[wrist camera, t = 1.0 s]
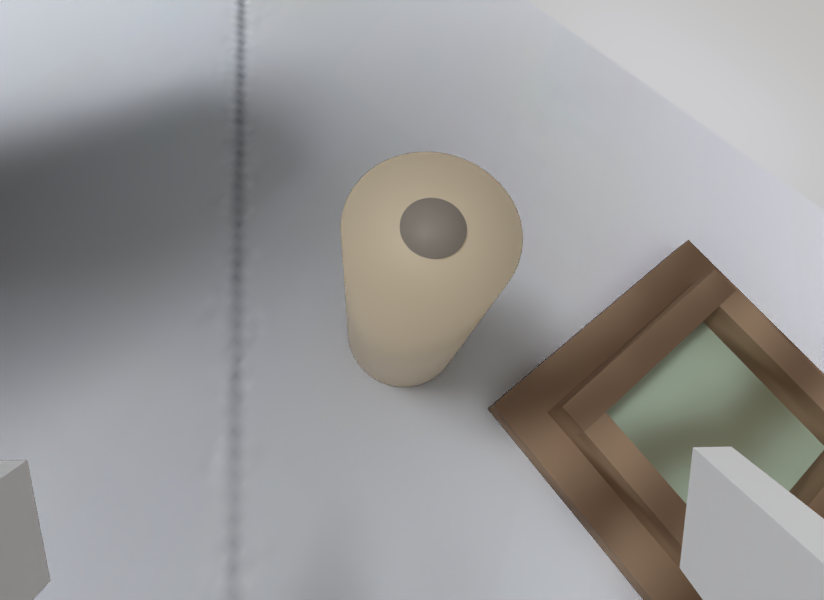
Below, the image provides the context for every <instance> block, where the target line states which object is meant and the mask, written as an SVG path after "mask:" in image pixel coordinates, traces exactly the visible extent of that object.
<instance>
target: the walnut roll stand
mask: <svg viewBox="0 0 824 600" xmlns="http://www.w3.org/2000/svg"><path fill="white" fill-rule="evenodd" d="M488 410H489V411H490V412H491V413H492V414H493V416H494V417H495V418H496V419H497V421H498V422H499V423H500V424H501V426H502V427H503V428H504V429H505V430H506V432H507V433H508V434H509V435H510V437H511V438H512V439H513V440H514V441H515V443H516V444H517V445H518V446H519V448H520V449H521V450H522V451H523V452H524V454H525V455H526V456H527V457H528V459H529V460H530V461H531V462H532V464H533V465H534V466H535V467H536V468H537V470H538V471H539V472H540V473H541V475H542V476H543V477H544V478H545V479H546V481H547V482H548V483H549V484H550V486H551V487H552V488H553V489H554V491H555V492H556V493H557V494H558V495H559V497H560V498H561V499H562V500H563V502H564V503H565V504H566V505H567V506H568V508H569V509H570V510H571V511H572V513H573V514H574V515H575V516H576V517H577V519H578V520H579V521H580V522H581V524H582V525H583V526H584V527H585V529H586V530H587V531H588V532H589V533H590V535H591V536H592V537H593V538H594V540H595V541H596V542H597V543H598V544H599V546H600V547H601V548H602V549H603V551H604V552H605V553H606V554H607V555H608V557H609V558H610V559H611V560H612V562H613V563H614V564H615V565H616V567H617V568H618V569H619V570H620V571H621V573H622V574H623V575H624V576H625V578H626V579H627V580H628V581H629V582H630V584H631V585H632V586H633V587H634V589H635V590H636V591H637V592H638V594H639V595H640V596H641V597H642V598H643V600H703V599H702V598H701V597H700V595H699V594H698V593H697V591H696V590H695V588H694V587H693V586H692V584H691V583H690V581H689V580H688V579H687V577H686V576H685V575H684V573H683V572H682V570H681V569H680V560H681V551H682V541H683V532H684V523H685V514H686V505H687V496H688V487H689V478H690V469H691V460H692V451H693V447H733V448H734V449H735V450H736V451H738V452H739V453H740V454H742V455H743V456H744V457H745V458H747V459H748V460H749V461H751V462H752V463H753V464H754V465H756V466H757V467H758V468H759V469H761V470H762V471H763V472H765V473H766V474H767V475H768V476H770V477H771V478H772V479H774V480H775V481H776V482H777V483H779V484H780V485H781V486H782V487H784V488H785V489H786V490H788V491H789V492H790V493H791V494H793V495H794V496H795V497H797V498H798V499H799V500H800V501H802V502H803V503H804V504H805V505H807V506H808V507H809V508H811V509H812V510H813V511H814V512H816V513H817V514H818V515H819V516H821V517H822V518H823V519H824V373H823V372H822V371H821V370H819V369H818V368H817V367H816V366H815V365H814V364H813V363H812V362H811V361H810V360H809V359H808V358H807V357H806V356H805V355H804V354H803V353H802V352H801V351H800V350H799V349H798V348H797V347H796V346H795V345H794V344H793V343H792V342H791V341H790V340H789V339H788V338H787V337H786V336H785V335H784V334H783V333H782V332H781V331H780V330H779V329H778V328H777V327H776V326H775V325H774V324H773V323H772V322H771V321H770V320H769V319H768V318H767V317H766V316H765V315H764V314H763V313H762V312H761V311H760V310H759V309H758V308H757V307H756V306H755V305H754V304H753V303H752V302H751V301H750V300H749V299H748V298H747V297H746V296H745V295H744V294H743V293H742V292H741V291H740V290H739V289H738V288H737V287H736V286H735V285H734V284H733V283H731V282H730V281H729V280H728V279H727V278H726V277H725V276H724V275H723V274H722V273H721V272H720V271H719V270H718V269H717V268H716V267H715V266H714V265H713V264H712V263H711V262H710V261H709V260H708V259H707V258H706V257H705V256H704V255H703V254H702V253H701V252H700V251H699V250H698V249H697V248H696V247H695V246H694V245H693V244H692V243H691V242H690V241H689V240H688V241H687V242H685V243H684V244H683V245H681V246H680V247H679V248H677V249H676V250H675V251H674V252H672V253H671V254H670V255H669V256H668V257H666V258H665V259H664V260H663V261H662V262H661V263H659V264H658V265H657V266H656V267H655V268H653V269H652V270H651V271H650V272H649V273H648V274H646V275H645V276H644V277H643V278H642V279H640V280H639V281H638V282H637V283H636V284H635V285H633V286H632V287H631V288H630V289H629V290H627V291H626V292H625V293H624V294H623V295H622V296H620V297H619V298H618V299H617V300H616V301H614V302H613V303H612V304H611V305H610V306H608V307H607V308H606V309H605V310H604V311H603V312H601V313H600V314H599V315H598V316H597V317H595V318H594V319H593V320H592V321H591V322H590V323H588V324H587V325H586V326H585V327H584V328H582V329H581V330H580V331H579V332H578V333H577V334H575V335H574V336H573V337H572V338H571V339H569V340H568V341H567V342H566V343H565V344H564V345H562V346H561V347H560V348H559V349H558V350H556V351H555V352H554V353H553V354H552V355H551V356H549V357H548V358H547V359H546V360H545V361H543V362H542V363H541V364H540V365H539V366H537V367H536V368H535V369H534V370H533V371H532V372H530V373H529V374H528V375H527V376H526V377H524V378H523V379H522V380H521V381H520V382H519V383H517V384H516V385H515V386H514V387H513V388H511V389H510V390H509V391H508V392H507V393H506V394H504V395H503V396H502V397H501V398H500V399H498V400H497V401H496V402H495V403H494V404H493V405H491V406H490V407H489V408H488Z"/></svg>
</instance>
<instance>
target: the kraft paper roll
mask: <svg viewBox="0 0 824 600" xmlns="http://www.w3.org/2000/svg"><path fill="white" fill-rule="evenodd" d="M341 241H342V256H343V270H344V284H345V298H346V312H347V326H348V340H349V345H350V348H351V352H352V354H353V356H354V358H355V360H356V361H357V363H358V364H359V366H360V367H361V368H362V369H363V370H364V371H365V372H366V373H367V374H368V375H369V376H371V377H372V378H374V379H376V380H378V381H380V382H382V383H384V384H387V385H391V386H396V387H411V386H416V385H420V384H423V383H426V382H428V381H430V380H432V379H433V378H435V377H436V376H437V375H439V374H440V373H441V372H442V371H443V370H444V369H445V367H446V366H447V365H448V364H449V362H450V361H451V360H452V358H453V357H454V356H455V354H456V353H457V351H458V350H459V349H460V347H461V346H462V345H463V343H464V342H465V341H466V339H467V338H468V336H469V335H470V334H471V332H472V331H473V330H474V328H475V327H476V326H477V324H478V323H479V322H480V320H481V319H482V317H483V316H484V315H485V313H486V312H487V311H488V309H489V308H490V307H491V305H492V304H493V303H494V301H495V300H496V298H497V297H498V296H499V294H500V293H501V292H502V290H503V289H504V288H505V286H506V285H507V283H508V282H509V281H510V279H511V277H512V276H513V274H514V273H515V270H516V268H517V266H518V263H519V260H520V256H521V252H522V244H523V236H522V226H521V221H520V218H519V215H518V211H517V209H516V207H515V205H514V203H513V201H512V199H511V198H510V196H509V195H508V193H507V191H506V190H505V189H504V188H503V187H502V185H501V184H500V183H499V182H498V181H497V180H496V179H495V178H494V177H493V176H491V175H490V174H489V173H487V172H486V171H485V170H483V169H482V168H480V167H479V166H477V165H475V164H474V163H471V162H469V161H467V160H465V159H462V158H459V157H456V156H453V155H449V154H444V153H437V152H414V153H407V154H403V155H399V156H396V157H393V158H390V159H388V160H386V161H384V162H382V163H380V164H378V165H376V166H375V167H373V168H372V169H371V170H369V171H368V172H367V173H366V174H365V175H364V176H363V177H361V178H360V180H359V181H358V182H357V183H356V184H355V186H354V187H353V189H352V190H351V192H350V194H349V196H348V198H347V200H346V203H345V205H344V209H343V213H342V218H341Z"/></svg>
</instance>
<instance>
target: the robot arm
mask: <svg viewBox="0 0 824 600" xmlns="http://www.w3.org/2000/svg"><path fill="white" fill-rule="evenodd" d="M680 569H681V570H682V572H683V573H684V575H685V576H686V577H687V579H688V580H689V581H690V583H691V584H692V586H693V587H694V588H695V590H696V591H697V593H698V594H699V595H700V597H701V598H702V599H703V600H824V519H823V518H822V517H821V516H819V515H818V514H817V513H816V512H814V511H813V510H812V509H811V508H809V507H808V506H807V505H805V504H804V503H803V502H802V501H800V500H799V499H798V498H797V497H795V496H794V495H793V494H791V493H790V492H789V491H788V490H786V489H785V488H784V487H782V486H781V485H780V484H779V483H777V482H776V481H775V480H774V479H772V478H771V477H770V476H768V475H767V474H766V473H765V472H763V471H762V470H761V469H759V468H758V467H757V466H756V465H754V464H753V463H752V462H751V461H749V460H748V459H747V458H745V457H744V456H743V455H742V454H740V453H739V452H738V451H736V450H735V449H734V448H733V447H693V451H692V460H691V469H690V478H689V487H688V496H687V505H686V514H685V523H684V532H683V541H682V551H681V560H680ZM49 582H50V576H49V571H48V566H47V560H46V555H45V550H44V545H43V539H42V534H41V529H40V524H39V519H38V513H37V508H36V503H35V498H34V493H33V487H32V482H31V477H30V472H29V466H28V461H27V460H0V600H33V599H34V598H35V597H36V596H37V595H38V594H39V593H40V592H41V591H42V589H43V588H44V587H45V586H46V585H47V584H48V583H49Z"/></svg>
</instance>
